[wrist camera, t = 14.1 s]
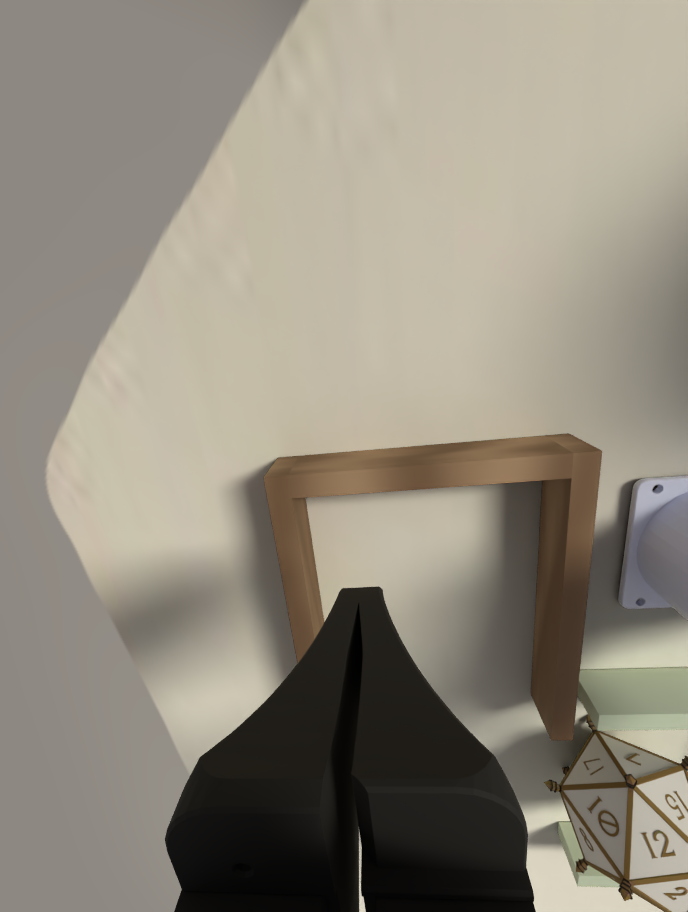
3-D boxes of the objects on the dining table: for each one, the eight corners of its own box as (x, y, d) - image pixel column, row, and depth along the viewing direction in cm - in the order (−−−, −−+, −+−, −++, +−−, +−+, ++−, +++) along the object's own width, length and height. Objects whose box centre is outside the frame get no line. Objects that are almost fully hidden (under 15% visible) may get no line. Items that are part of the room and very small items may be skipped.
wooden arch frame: (568, 433, 20) (602, 450, 17) (550, 693, 25) (572, 740, 22) (277, 457, 21) (263, 477, 18) (318, 698, 27) (312, 742, 24)
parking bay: (784, 664, 23) (841, 711, 20) (732, 834, 28) (772, 891, 25) (573, 670, 24) (599, 714, 22) (557, 832, 29) (577, 886, 26)
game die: (585, 711, 30) (670, 898, 24) (496, 731, 27) (568, 948, 22) (693, 693, 24) (847, 945, 18) (591, 718, 21) (732, 1025, 15)
